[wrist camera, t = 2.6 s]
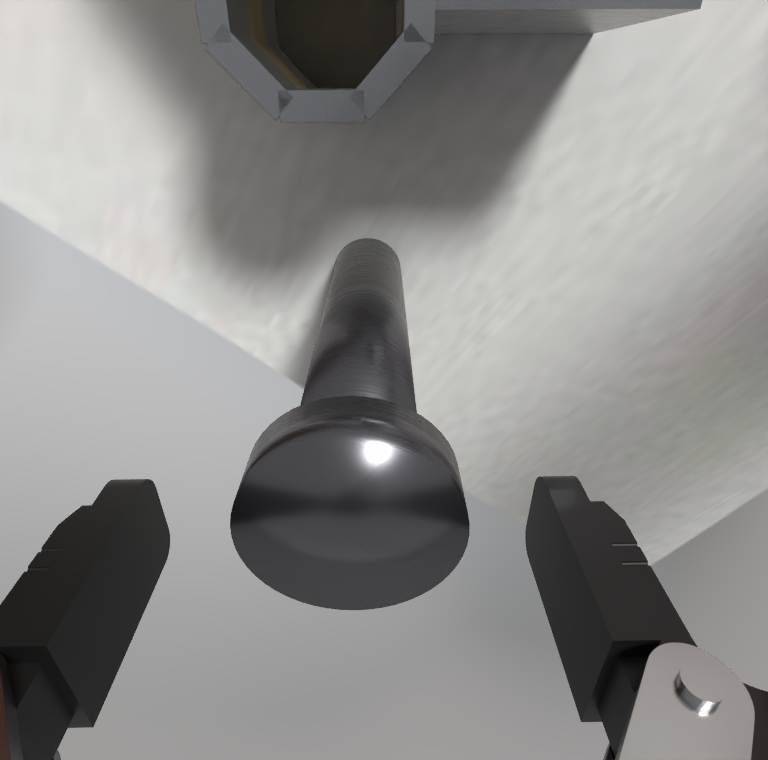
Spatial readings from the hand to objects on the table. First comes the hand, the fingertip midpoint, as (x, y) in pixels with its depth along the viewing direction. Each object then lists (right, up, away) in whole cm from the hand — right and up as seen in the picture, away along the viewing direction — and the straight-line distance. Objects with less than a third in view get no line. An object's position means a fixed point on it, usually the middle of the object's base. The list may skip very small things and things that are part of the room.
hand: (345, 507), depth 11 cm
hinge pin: (0, +8, +14) cm, 16 cm away
